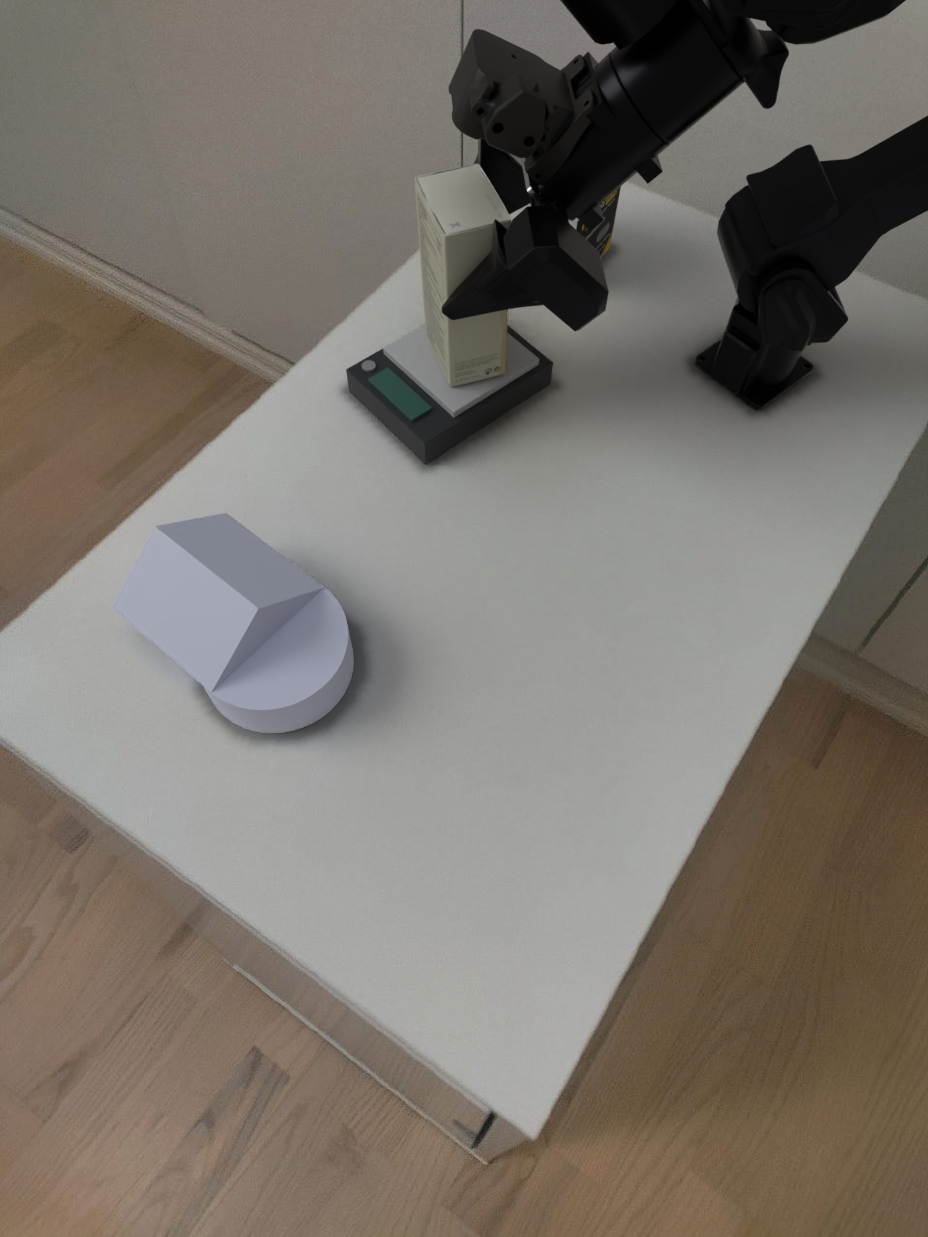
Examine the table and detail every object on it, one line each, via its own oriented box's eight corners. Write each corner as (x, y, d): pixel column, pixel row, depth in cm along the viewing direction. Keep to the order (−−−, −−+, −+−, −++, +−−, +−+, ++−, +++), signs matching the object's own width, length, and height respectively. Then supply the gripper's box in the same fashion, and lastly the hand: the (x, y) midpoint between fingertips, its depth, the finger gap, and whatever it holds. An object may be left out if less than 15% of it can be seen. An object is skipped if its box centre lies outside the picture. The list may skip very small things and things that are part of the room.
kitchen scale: (472, 319, 68) (473, 289, 66) (550, 384, 65) (554, 356, 62) (348, 391, 64) (344, 362, 62) (425, 464, 61) (424, 437, 58)
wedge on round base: (130, 635, 54) (278, 763, 50) (91, 577, 48) (255, 716, 44) (237, 543, 57) (384, 656, 53) (213, 478, 52) (376, 599, 48)
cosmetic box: (507, 375, 61) (516, 221, 51) (447, 390, 61) (444, 237, 50) (478, 316, 64) (481, 159, 54) (420, 329, 64) (412, 173, 53)
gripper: (525, -104, 47) (343, 109, 56) (573, 93, 38) (346, 310, 47) (642, 47, 54) (464, 214, 63) (707, 243, 45) (487, 405, 54)
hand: (442, 276), depth 57 cm, fingers closed on cosmetic box, 7 cm apart
